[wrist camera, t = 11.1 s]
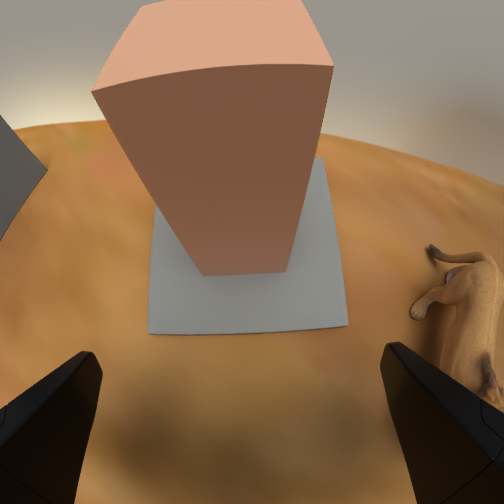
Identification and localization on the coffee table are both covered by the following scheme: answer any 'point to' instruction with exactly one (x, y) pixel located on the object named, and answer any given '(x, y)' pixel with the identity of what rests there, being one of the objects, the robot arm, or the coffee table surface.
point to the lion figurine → (470, 321)
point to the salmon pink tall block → (221, 122)
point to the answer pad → (253, 281)
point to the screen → (15, 174)
